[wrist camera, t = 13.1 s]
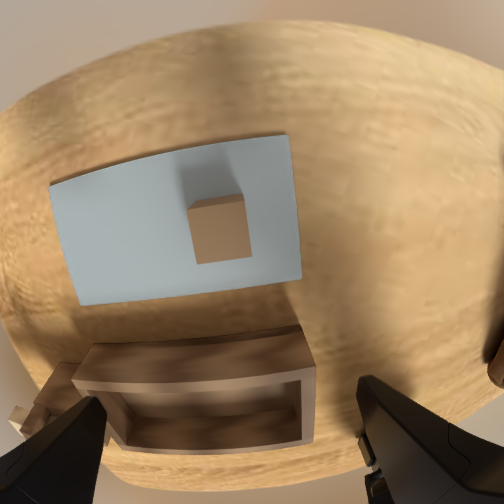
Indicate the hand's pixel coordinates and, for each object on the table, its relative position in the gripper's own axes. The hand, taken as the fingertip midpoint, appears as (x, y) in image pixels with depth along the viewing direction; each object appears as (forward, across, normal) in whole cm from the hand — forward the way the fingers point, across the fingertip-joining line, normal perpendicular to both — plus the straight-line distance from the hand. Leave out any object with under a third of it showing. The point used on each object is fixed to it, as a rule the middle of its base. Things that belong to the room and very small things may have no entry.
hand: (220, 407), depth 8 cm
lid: (+12, +4, -4) cm, 14 cm away
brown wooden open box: (+12, +7, +10) cm, 17 cm away
